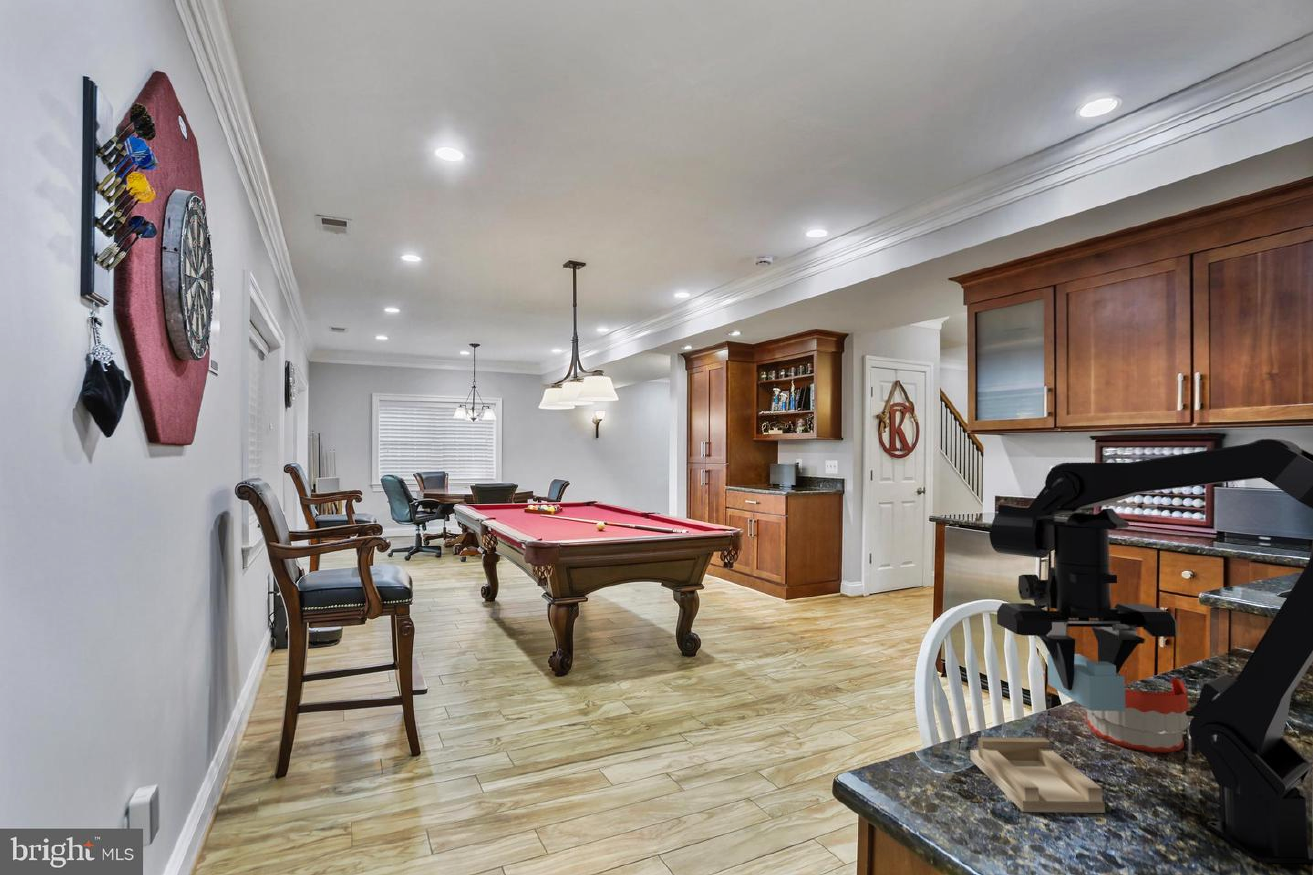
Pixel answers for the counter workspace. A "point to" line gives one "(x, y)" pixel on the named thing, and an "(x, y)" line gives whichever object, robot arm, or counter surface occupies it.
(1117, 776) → the counter surface
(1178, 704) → the toy
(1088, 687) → the blue stepped block
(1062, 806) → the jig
